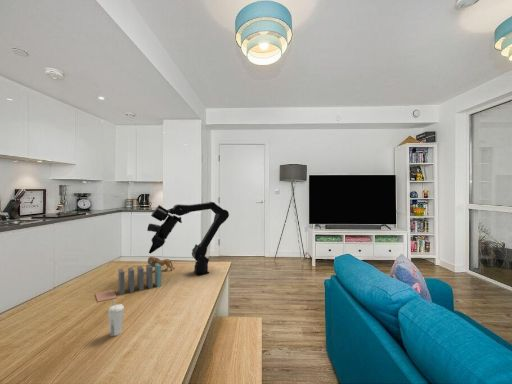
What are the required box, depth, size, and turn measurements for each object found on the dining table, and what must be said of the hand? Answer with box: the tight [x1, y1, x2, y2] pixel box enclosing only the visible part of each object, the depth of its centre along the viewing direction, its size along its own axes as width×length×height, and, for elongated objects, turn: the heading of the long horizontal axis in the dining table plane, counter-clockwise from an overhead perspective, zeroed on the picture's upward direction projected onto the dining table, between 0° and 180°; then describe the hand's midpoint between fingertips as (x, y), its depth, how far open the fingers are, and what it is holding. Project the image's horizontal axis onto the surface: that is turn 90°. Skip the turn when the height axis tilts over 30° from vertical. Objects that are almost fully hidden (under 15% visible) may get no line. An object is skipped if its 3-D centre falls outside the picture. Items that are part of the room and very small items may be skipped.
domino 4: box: [145, 264, 154, 290], centre depth 120 cm, size 2×5×10 cm, turn 37°
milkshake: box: [107, 299, 125, 337], centre depth 81 cm, size 4×5×10 cm
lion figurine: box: [147, 256, 175, 272], centre depth 143 cm, size 15×5×9 cm, turn 118°
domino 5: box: [154, 263, 162, 288], centre depth 122 cm, size 2×5×10 cm, turn 37°
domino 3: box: [136, 265, 145, 292], centre depth 118 cm, size 2×5×10 cm, turn 37°
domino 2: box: [127, 267, 135, 294], centre depth 115 cm, size 2×5×10 cm, turn 37°
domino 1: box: [117, 268, 125, 296], centre depth 113 cm, size 2×5×10 cm, turn 37°
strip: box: [95, 289, 117, 303], centre depth 109 cm, size 7×10×1 cm
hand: (150, 250), depth 131 cm, fingers open, 9 cm apart
